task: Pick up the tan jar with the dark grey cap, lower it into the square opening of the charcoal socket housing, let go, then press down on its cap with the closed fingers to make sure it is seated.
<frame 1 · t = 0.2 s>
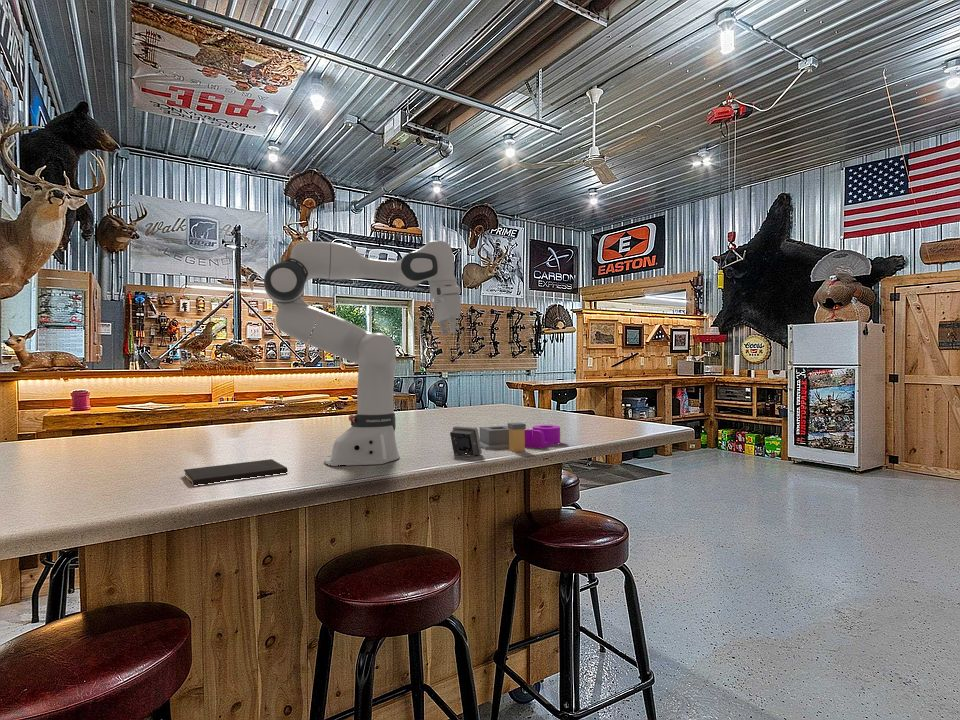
hand: (448, 333, 172), 39 cm above the countertop, tool pointing down, fingers open, 8 cm apart
hardcover book: (236, 477, 144), on the countertop
tan jar: (516, 450, 176), on the countertop
socket: (497, 444, 188), on the countertop
tape dispenser: (542, 445, 189), on the countertop, touching socket
electrical switch: (466, 455, 170), on the countertop
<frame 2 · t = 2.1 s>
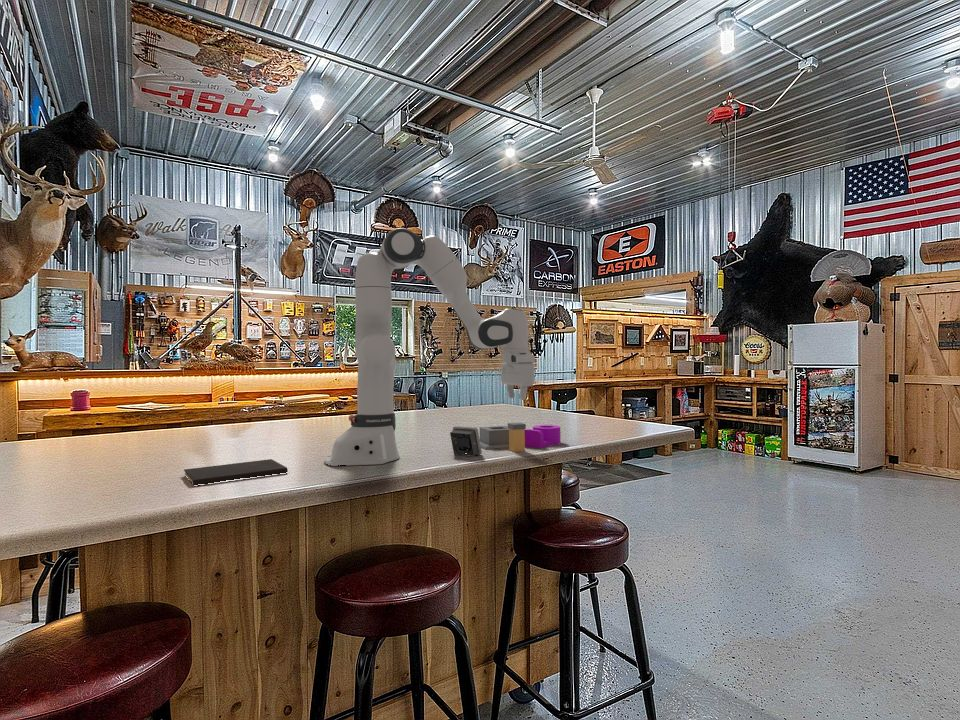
hand: (516, 398, 176), 17 cm above the countertop, tool pointing down, fingers open, 8 cm apart
nothing on the countertop moved.
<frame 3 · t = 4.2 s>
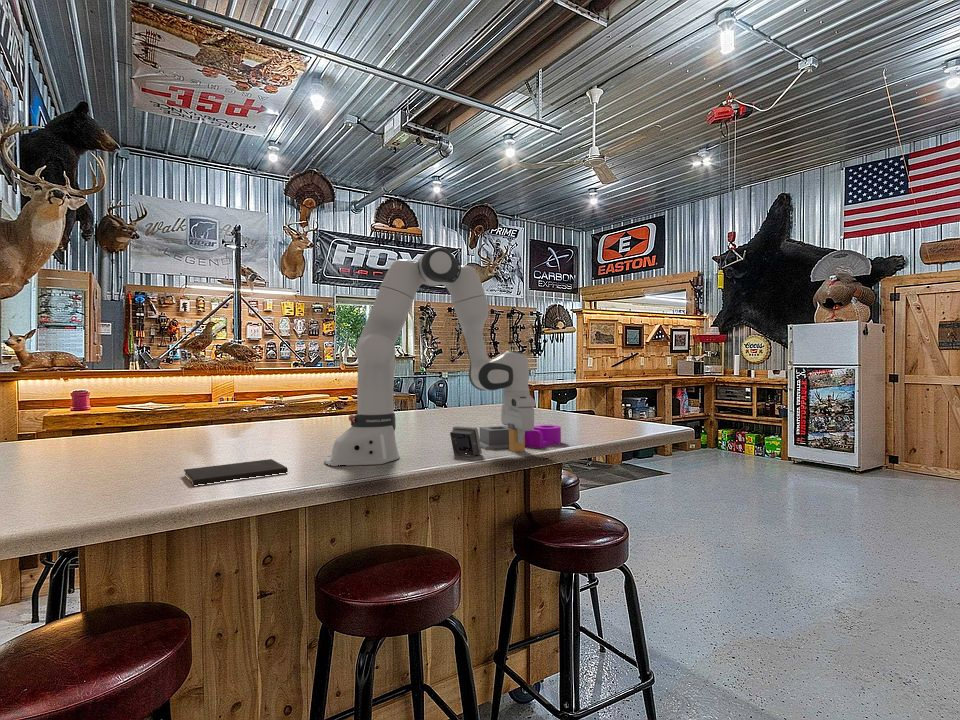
hand: (516, 441, 176), 3 cm above the countertop, tool pointing down, fingers closed on tan jar, 4 cm apart
tan jar: (516, 450, 176), on the countertop, touching gripper
everything else where it was.
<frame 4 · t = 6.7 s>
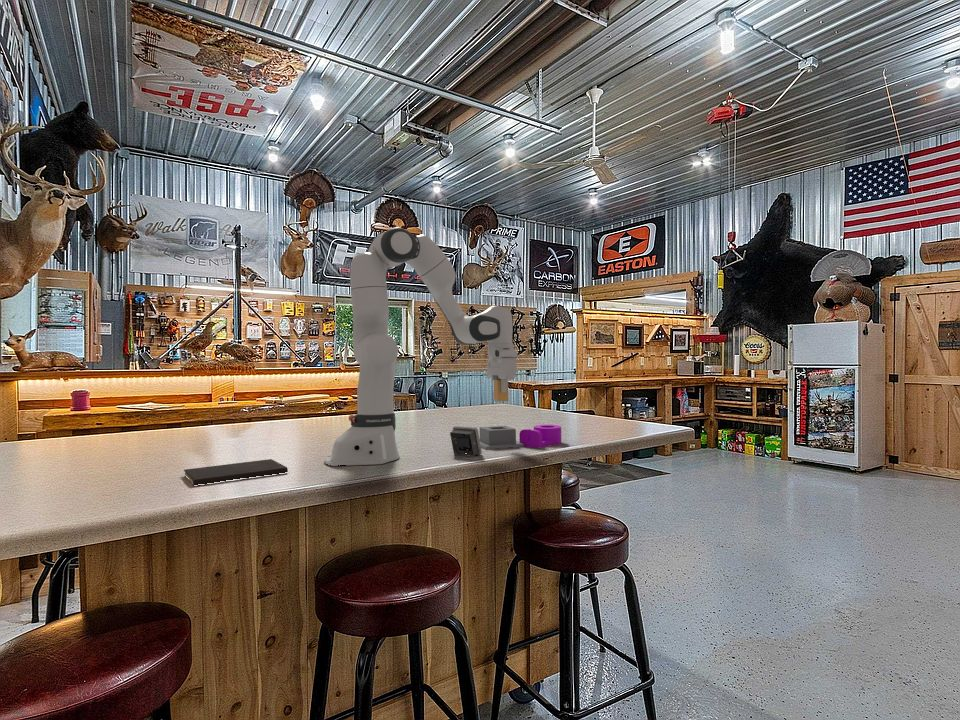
hand: (500, 391, 185), 19 cm above the countertop, tool pointing down, fingers closed on tan jar, 4 cm apart
tan jar: (501, 400, 185), point 16 cm above the countertop, touching gripper
everything else where it was.
when the fingers open (7 cm above the countertop, at t = 9.2 s): tan jar drops 3 cm, resting on socket.
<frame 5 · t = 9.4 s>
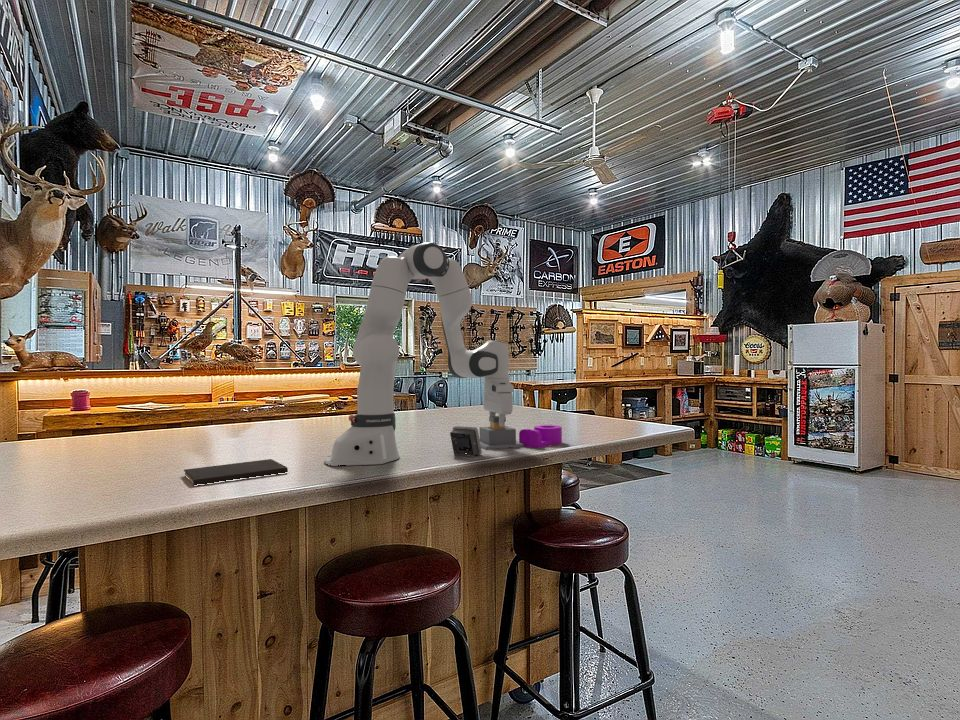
hand: (497, 425, 188), 7 cm above the countertop, tool pointing down, fingers open, 6 cm apart
tan jar: (497, 442, 188), point 1 cm above the countertop, touching socket
everything else where it was.
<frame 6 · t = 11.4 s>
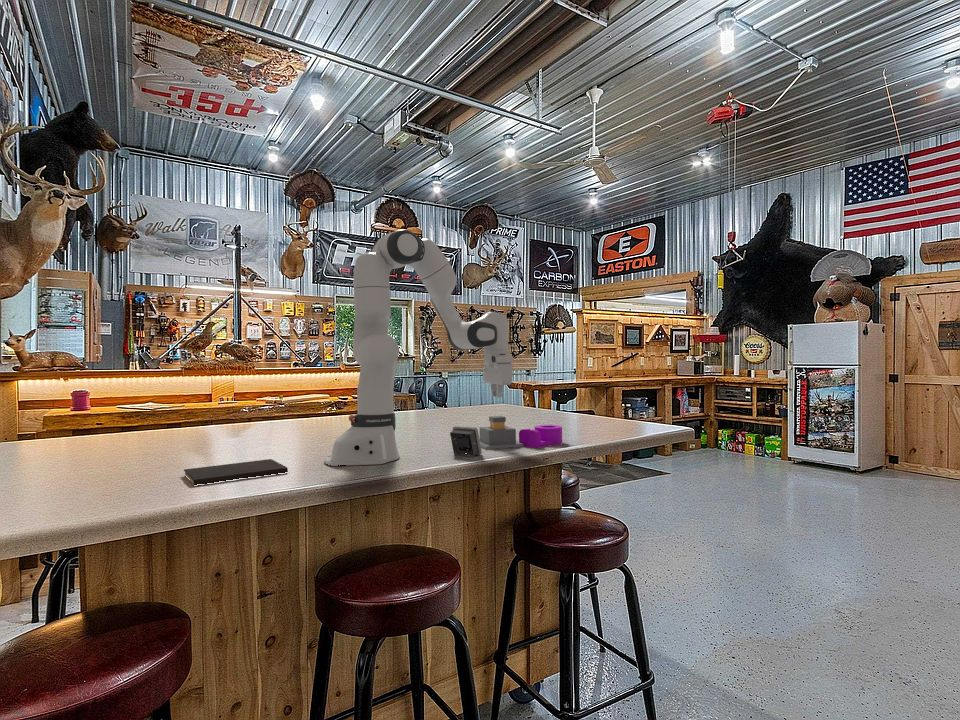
hand: (497, 396, 188), 17 cm above the countertop, tool pointing down, fingers open, 3 cm apart
nothing on the countertop moved.
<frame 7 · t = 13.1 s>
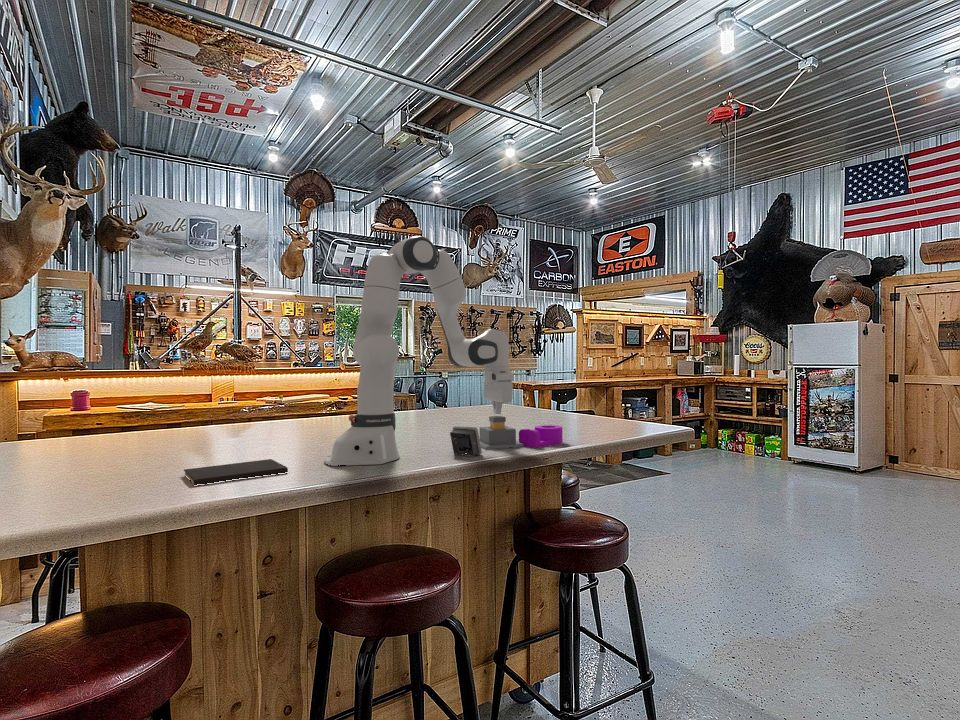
hand: (497, 413, 188), 11 cm above the countertop, tool pointing down, fingers closed
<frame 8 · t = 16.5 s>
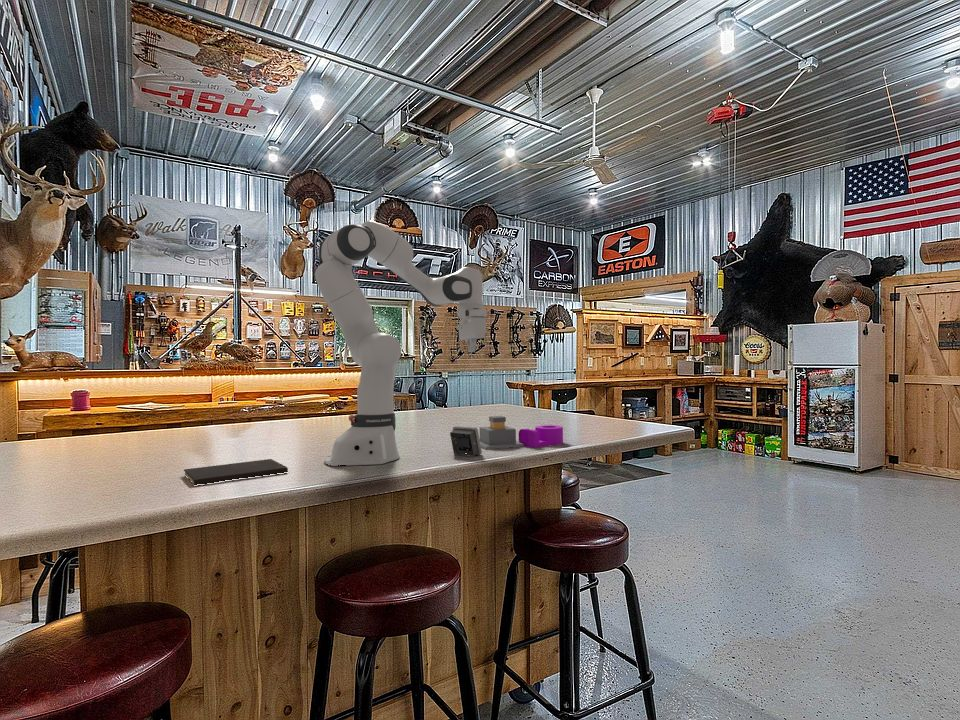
hand: (471, 352, 189), 33 cm above the countertop, tool pointing down, fingers closed
at the end: tan jar 0.1 cm off-centre on the socket, point 1.0 cm above the socket's base; tan jar tilted 0°; the gripper is holding nothing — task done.
